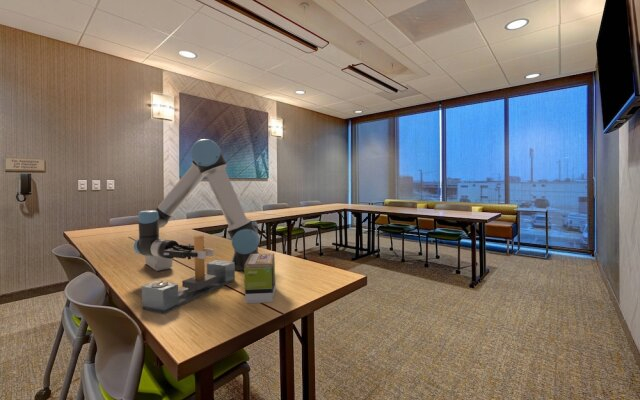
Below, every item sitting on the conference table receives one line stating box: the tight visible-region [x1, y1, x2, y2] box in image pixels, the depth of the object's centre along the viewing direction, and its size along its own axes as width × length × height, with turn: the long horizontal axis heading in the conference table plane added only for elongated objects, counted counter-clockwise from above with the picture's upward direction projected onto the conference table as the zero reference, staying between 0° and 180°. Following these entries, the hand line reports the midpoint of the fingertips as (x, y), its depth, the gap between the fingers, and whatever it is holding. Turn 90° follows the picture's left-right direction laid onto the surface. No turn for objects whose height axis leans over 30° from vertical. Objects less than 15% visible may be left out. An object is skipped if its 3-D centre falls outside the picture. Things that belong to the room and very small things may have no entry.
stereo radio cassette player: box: [144, 255, 173, 272], centre depth 150 cm, size 21×8×20 cm, turn 45°
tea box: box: [243, 252, 276, 304], centre depth 112 cm, size 15×10×15 cm, turn 5°
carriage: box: [181, 234, 217, 290], centre depth 117 cm, size 10×8×19 cm
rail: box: [141, 259, 236, 315], centre depth 115 cm, size 36×10×9 cm, turn 158°
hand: (209, 254), depth 115 cm, fingers closed on carriage, 4 cm apart
